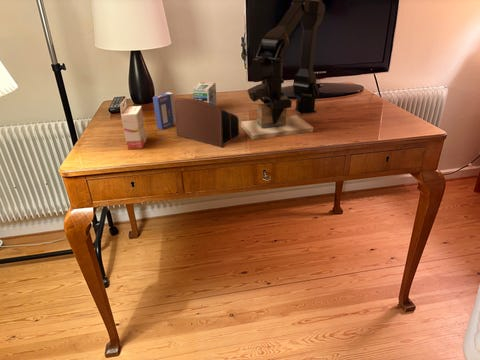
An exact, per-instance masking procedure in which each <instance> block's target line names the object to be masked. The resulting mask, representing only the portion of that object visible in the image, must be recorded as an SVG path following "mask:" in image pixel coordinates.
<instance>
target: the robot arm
mask: <svg viewBox="0 0 480 360" xmlns="http://www.w3.org/2000/svg"><path fill="white" fill-rule="evenodd" d="M325 12H326V5H325V3H324V2H323V0H292V1H291V5H290V6H289V8H288V10H287V11H286V12H285V14H284V16H283V17H282V19H281V20H280V21H279V22H278V24H277V26H276V27H274V28H272V29H270V30H269V31H268V32H267V33H265V34H264V36H263V37H262V39H261V42H260V44H259V47H258V49H257V53H256V54H255V58H253V59H252V63H251V64H250V65H248V69H247V75H248V78H249V79H250V81H252V82H253V83H258V84H257V85H255V86H253V87H250V88H248V89H247V90H246V91H247V94H248V97H249V99H250V100H252V102H254V103H255V102H257V101H259V100H260V102H262V104H265V103H270V105H267V106H268V107H269V108H270V109H271V111H272V119H273V124H276V123H277V121H278V119H279V117H280V115H281V114H282V112H283V110H284V109H285V108H287V109H291V108H292V100H291V99H290V98H288V97H287V96H285V95H284V92H283V91H282V86H283V85H282V84H284V83H285V80H284V79H283V61H286V59H287V58H286V57H285V55H284V54H285V52H286V51H287V48H288V46H289V44H290V40H289V38H290V36H291V34H292V33H293V31H294V30H295V28H296V27H297V26H298V23H299V22H300V23H301V26H302V28H303V29H302V40H301V41H302V42H301V51H300V52H301V53H300V63H299V64H300V65H299V69H298V72H297V73H296V74H294V76H293V83H292V89H293V95H294V96H297V98H296V101H295V108H294V110H295V111H297V112H298V113H299V114H302V115H305V114H313V113H317V110H316V109H315V105H316V104H315V103H316V99H317V98H319V96H320V92H321V91H320V88H319V86H318V84H317V76H316V73H315V71H314V64H315V53H316V43H317V34H318V33H317V32H318V28H319V26H320V25H321V23H323V20H324V16H325ZM259 82H261V83H260V84H259Z"/></svg>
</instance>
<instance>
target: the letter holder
mask: <svg viewBox="0 0 480 360" xmlns="http://www.w3.org/2000/svg"><path fill="white" fill-rule="evenodd" d="M174 109H175V121H176V124H175V129H176V130H175V131H176V136H177V137H181V138H183V139H188V140H192V141H196V142H199V143H204V144H206V145H210V146H213V147H219V148H222V149H223V148H224V147H226V146H227V145H229V144H230V143H232V142H234V141H236V140H237V139H239V138H240V125H239V117H238V115H236V114H233V113H232V112H230V111H226V110H224V109H222V108H221V106H219V105H217V106H216V105H214V104H211V103H207V102H204V101H200V100H195V99H194V98H181V97H180V98H179V97H178V98H177V97H176V98H174Z"/></svg>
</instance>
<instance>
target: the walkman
mask: <svg viewBox="0 0 480 360" xmlns="http://www.w3.org/2000/svg"><path fill="white" fill-rule="evenodd" d="M174 100H175V96H174V92H170V91H168V92H165V93H160V94H158V95H155V96H153V97H152V101H153V109H154V117H155V123H156V128H157V129H158V130H162V131H163V130H165V129H168V128H170V127H173V126H176V121H175V109H174Z"/></svg>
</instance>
